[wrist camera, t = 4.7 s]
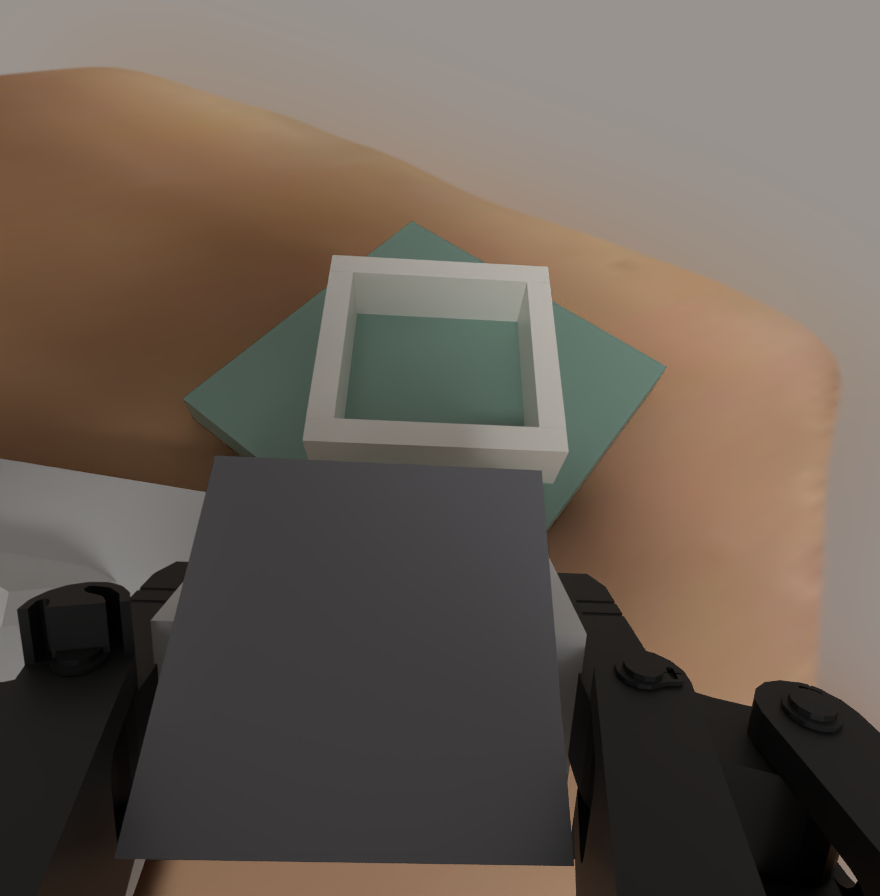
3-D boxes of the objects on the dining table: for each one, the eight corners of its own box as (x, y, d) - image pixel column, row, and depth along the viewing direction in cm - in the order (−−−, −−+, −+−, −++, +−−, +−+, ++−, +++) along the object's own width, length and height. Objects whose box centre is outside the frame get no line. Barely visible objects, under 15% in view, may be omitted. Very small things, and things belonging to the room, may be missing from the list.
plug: (285, 817, 14) (113, 857, 6) (311, 623, 17) (218, 442, 8) (468, 820, 14) (574, 866, 6) (467, 628, 17) (540, 457, 8)
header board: (193, 418, 20) (160, 360, 17) (411, 244, 25) (412, 177, 23) (468, 638, 17) (481, 609, 14) (654, 386, 22) (690, 329, 19)
